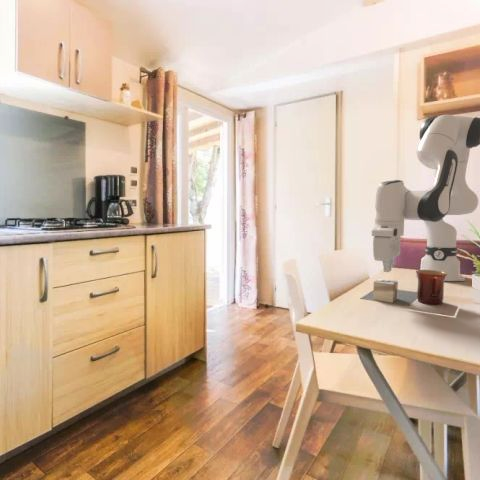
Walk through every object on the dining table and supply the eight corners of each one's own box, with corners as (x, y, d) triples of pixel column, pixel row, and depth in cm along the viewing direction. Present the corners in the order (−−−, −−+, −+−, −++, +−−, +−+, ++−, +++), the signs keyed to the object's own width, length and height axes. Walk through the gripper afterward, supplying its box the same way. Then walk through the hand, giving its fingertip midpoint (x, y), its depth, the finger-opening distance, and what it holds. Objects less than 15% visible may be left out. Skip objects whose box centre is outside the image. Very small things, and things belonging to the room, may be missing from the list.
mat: (378, 288, 132) (378, 287, 132) (421, 294, 123) (421, 292, 123) (359, 300, 114) (359, 298, 114) (408, 307, 105) (409, 306, 105)
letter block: (373, 281, 113) (373, 299, 113) (393, 283, 109) (392, 302, 109) (379, 278, 117) (378, 296, 118) (397, 280, 114) (397, 298, 114)
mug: (411, 299, 115) (412, 269, 115) (439, 300, 114) (441, 270, 113) (422, 309, 104) (424, 275, 103) (454, 311, 102) (456, 277, 101)
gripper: (387, 228, 123) (385, 266, 124) (369, 230, 106) (368, 274, 108) (406, 229, 119) (404, 268, 120) (391, 231, 103) (389, 277, 104)
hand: (387, 271), depth 114 cm, fingers closed
